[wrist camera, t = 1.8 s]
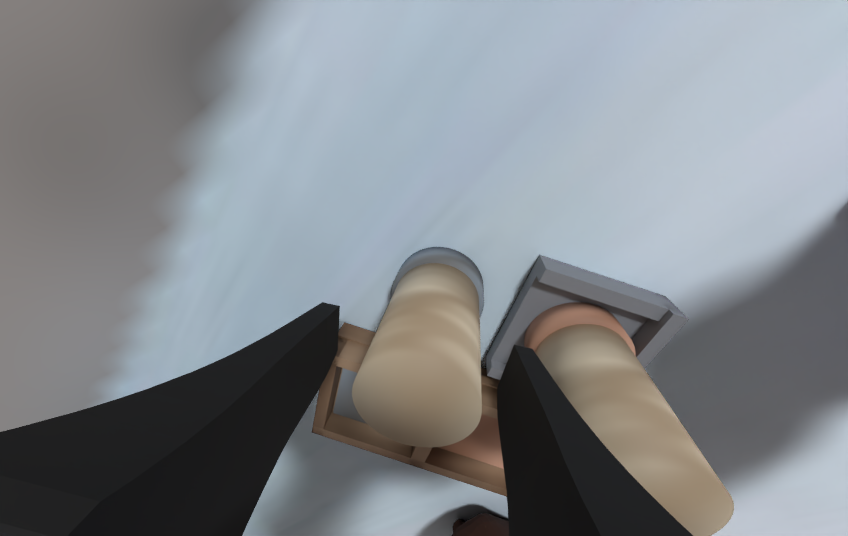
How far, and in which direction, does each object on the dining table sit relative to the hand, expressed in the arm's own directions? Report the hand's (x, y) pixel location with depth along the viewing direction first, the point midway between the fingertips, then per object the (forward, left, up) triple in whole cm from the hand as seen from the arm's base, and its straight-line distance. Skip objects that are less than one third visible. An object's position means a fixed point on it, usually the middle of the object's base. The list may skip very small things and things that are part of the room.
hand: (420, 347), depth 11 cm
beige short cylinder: (-6, 0, -3) cm, 7 cm away
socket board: (-2, +7, -4) cm, 8 cm away
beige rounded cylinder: (0, 0, -4) cm, 4 cm away
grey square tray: (-6, 0, -4) cm, 8 cm away
